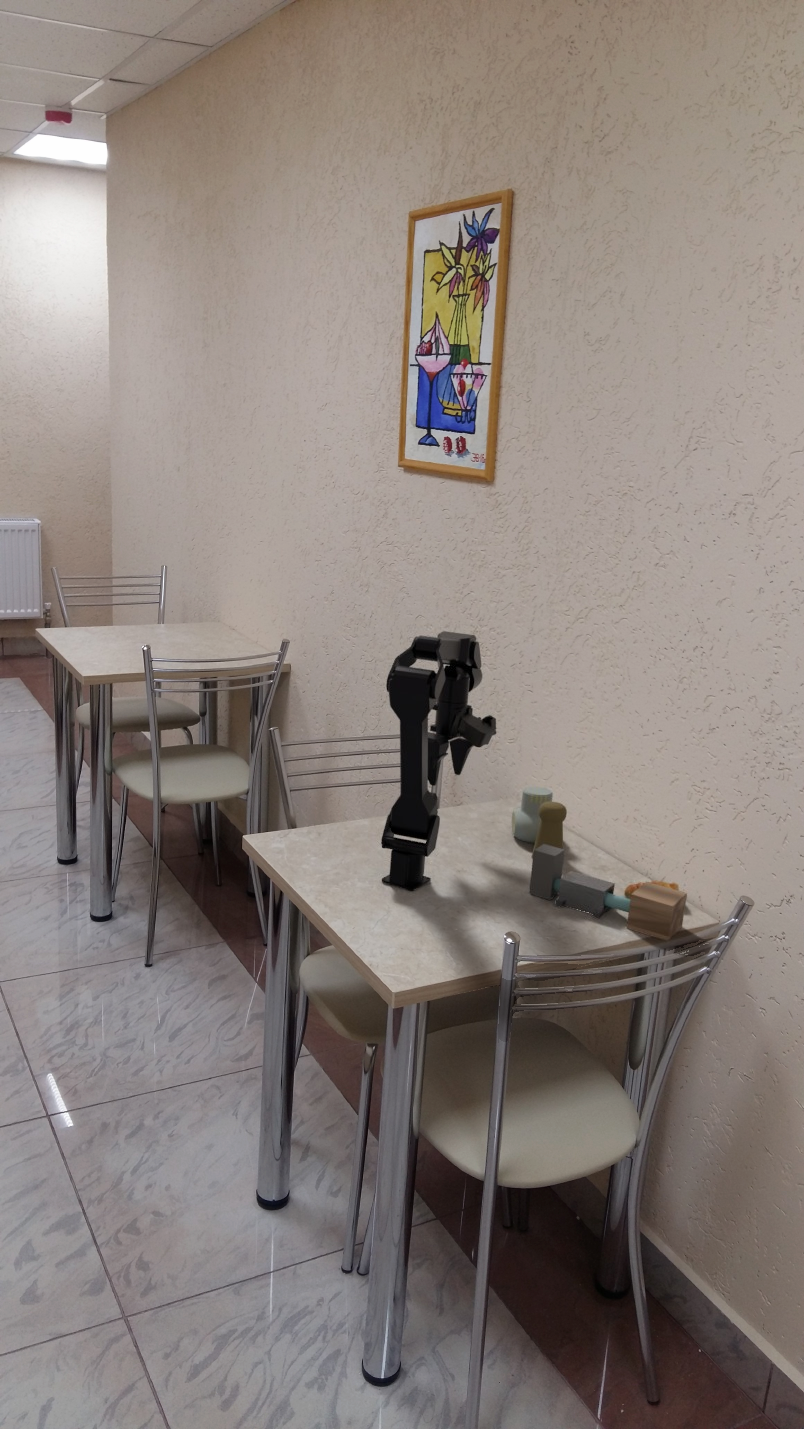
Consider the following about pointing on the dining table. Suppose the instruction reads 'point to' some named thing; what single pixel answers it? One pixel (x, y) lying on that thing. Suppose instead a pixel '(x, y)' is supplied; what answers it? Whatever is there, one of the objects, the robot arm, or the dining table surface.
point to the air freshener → (529, 813)
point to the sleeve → (584, 893)
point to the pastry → (634, 887)
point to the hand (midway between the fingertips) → (445, 779)
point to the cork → (551, 825)
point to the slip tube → (559, 877)
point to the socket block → (656, 910)
